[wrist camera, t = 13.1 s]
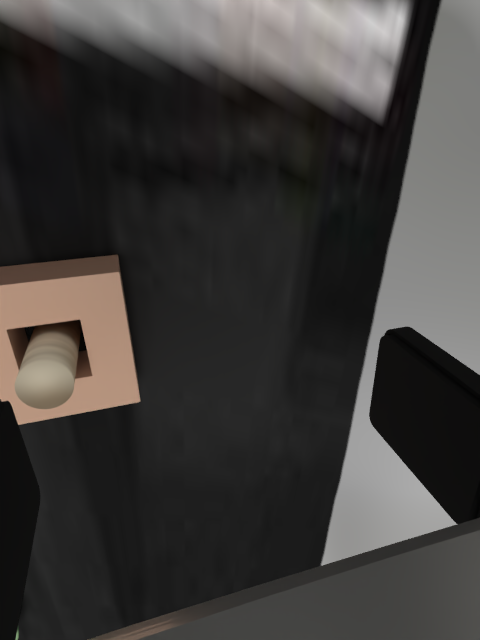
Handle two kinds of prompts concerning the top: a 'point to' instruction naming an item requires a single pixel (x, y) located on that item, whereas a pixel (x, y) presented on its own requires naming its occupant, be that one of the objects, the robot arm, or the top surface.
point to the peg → (49, 365)
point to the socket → (67, 305)
